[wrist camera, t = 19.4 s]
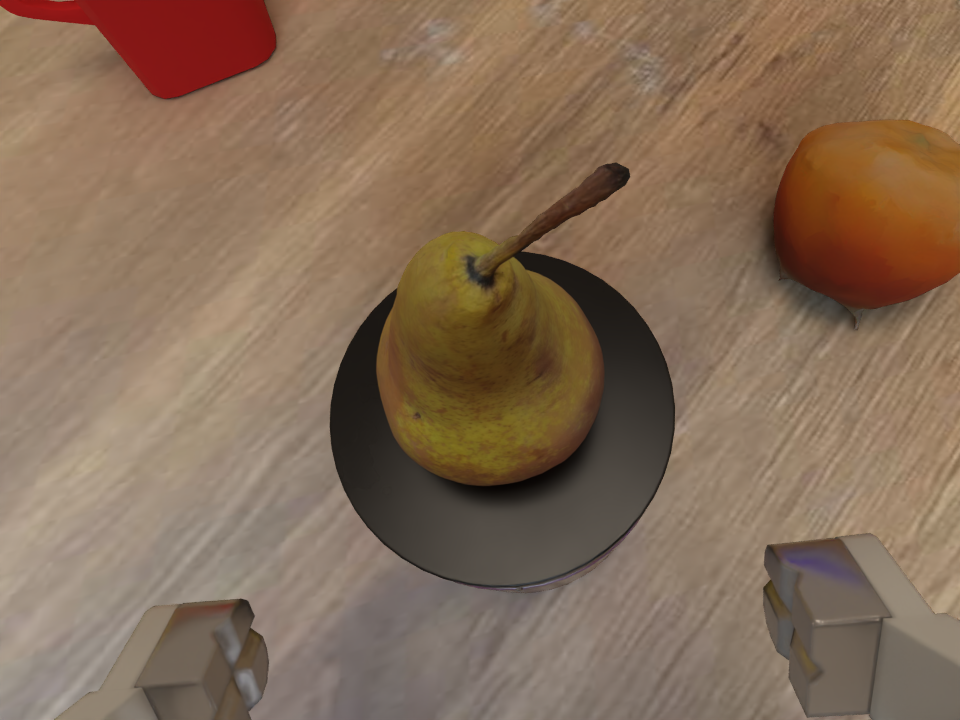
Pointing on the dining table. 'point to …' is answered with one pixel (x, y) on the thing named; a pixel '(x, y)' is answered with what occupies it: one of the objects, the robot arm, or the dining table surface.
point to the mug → (170, 36)
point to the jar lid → (525, 504)
